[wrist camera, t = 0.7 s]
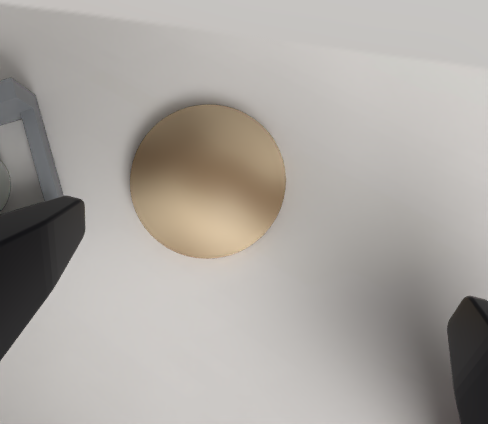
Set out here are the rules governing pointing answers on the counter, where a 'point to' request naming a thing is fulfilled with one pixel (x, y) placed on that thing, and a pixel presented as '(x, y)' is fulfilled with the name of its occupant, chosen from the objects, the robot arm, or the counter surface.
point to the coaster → (207, 181)
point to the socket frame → (30, 132)
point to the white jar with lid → (4, 185)
